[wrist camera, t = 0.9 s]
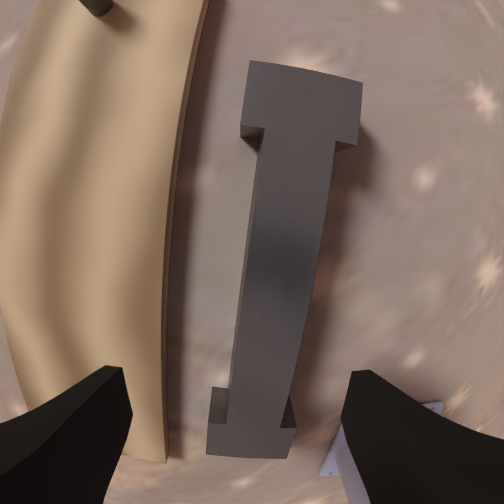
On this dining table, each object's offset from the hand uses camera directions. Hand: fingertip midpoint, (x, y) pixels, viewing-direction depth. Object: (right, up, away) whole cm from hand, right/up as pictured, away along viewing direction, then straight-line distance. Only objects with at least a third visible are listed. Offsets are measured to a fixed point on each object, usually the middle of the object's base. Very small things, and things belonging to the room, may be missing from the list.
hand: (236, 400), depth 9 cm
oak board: (-10, +5, +7) cm, 13 cm away
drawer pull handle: (+1, +3, +8) cm, 9 cm away
